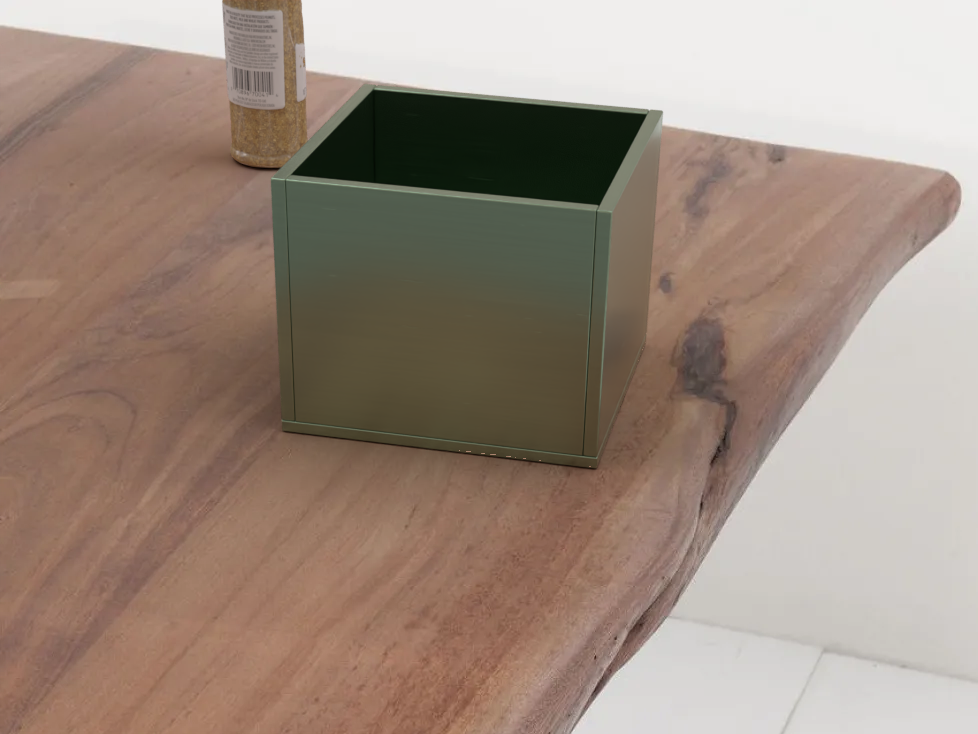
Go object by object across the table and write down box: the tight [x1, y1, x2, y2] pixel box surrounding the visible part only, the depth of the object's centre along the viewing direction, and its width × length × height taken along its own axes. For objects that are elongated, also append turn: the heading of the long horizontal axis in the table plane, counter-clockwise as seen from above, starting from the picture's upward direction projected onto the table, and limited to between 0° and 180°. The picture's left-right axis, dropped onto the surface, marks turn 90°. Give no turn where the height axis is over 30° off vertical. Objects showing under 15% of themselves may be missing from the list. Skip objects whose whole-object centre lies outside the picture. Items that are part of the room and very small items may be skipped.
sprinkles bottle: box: [221, 0, 309, 169], centre depth 102 cm, size 5×5×13 cm
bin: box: [270, 83, 664, 469], centre depth 79 cm, size 13×13×10 cm
